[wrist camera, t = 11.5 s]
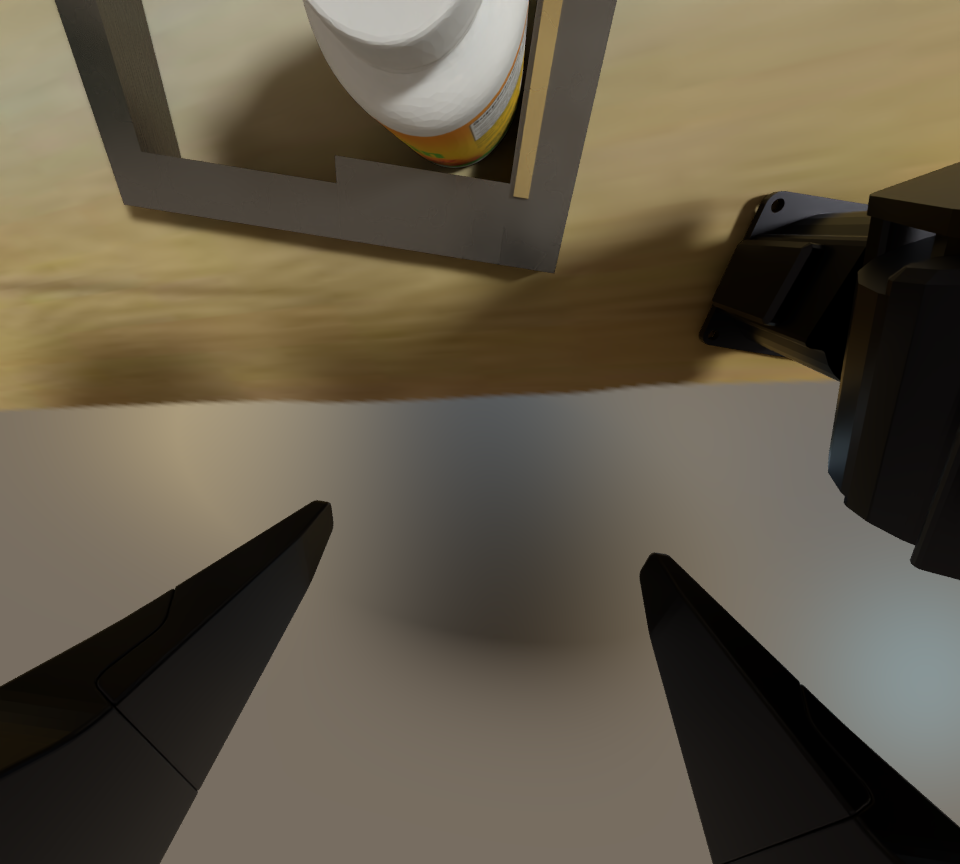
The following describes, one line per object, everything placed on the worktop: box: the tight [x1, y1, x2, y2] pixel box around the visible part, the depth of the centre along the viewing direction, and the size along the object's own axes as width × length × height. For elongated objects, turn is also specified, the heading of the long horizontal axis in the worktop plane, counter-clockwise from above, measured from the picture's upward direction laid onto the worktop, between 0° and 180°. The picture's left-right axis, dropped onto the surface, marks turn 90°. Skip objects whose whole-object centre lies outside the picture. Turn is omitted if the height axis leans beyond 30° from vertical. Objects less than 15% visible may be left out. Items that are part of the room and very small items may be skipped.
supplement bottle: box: [303, 0, 529, 168], centre depth 9 cm, size 5×5×10 cm
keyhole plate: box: [55, 0, 617, 273], centre depth 13 cm, size 19×12×2 cm, turn 82°
